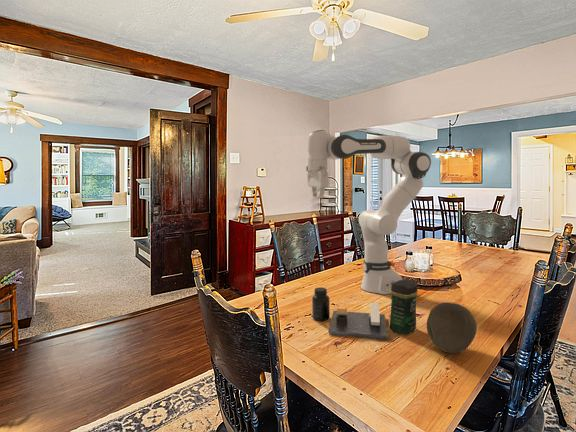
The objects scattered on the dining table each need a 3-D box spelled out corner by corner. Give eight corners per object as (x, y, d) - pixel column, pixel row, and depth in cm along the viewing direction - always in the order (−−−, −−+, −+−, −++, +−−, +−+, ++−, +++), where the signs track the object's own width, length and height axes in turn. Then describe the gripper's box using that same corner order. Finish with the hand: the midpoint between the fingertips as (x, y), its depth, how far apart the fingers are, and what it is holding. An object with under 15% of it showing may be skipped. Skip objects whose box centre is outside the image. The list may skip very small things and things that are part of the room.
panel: (333, 314, 133) (333, 306, 133) (384, 318, 129) (384, 309, 128) (328, 334, 116) (328, 325, 115) (387, 340, 111) (387, 330, 111)
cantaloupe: (474, 366, 95) (476, 317, 93) (422, 353, 103) (424, 308, 101) (476, 345, 107) (478, 301, 105) (429, 335, 115) (431, 293, 113)
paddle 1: (337, 313, 128) (337, 307, 129) (348, 314, 127) (348, 308, 128) (335, 315, 119) (335, 308, 119) (347, 316, 118) (347, 309, 118)
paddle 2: (368, 307, 125) (368, 302, 124) (380, 308, 124) (380, 303, 123) (368, 326, 117) (369, 321, 116) (381, 327, 116) (381, 322, 115)
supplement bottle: (317, 313, 134) (317, 285, 133) (332, 317, 130) (332, 288, 129) (309, 319, 128) (308, 290, 127) (324, 323, 125) (324, 293, 123)
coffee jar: (407, 338, 112) (408, 286, 110) (386, 330, 118) (387, 281, 116) (419, 329, 119) (421, 279, 117) (399, 322, 125) (400, 275, 123)
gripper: (332, 166, 138) (332, 198, 140) (317, 167, 158) (317, 196, 160) (318, 166, 137) (318, 199, 139) (305, 167, 157) (305, 196, 159)
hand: (318, 197), depth 149 cm, fingers open, 8 cm apart
